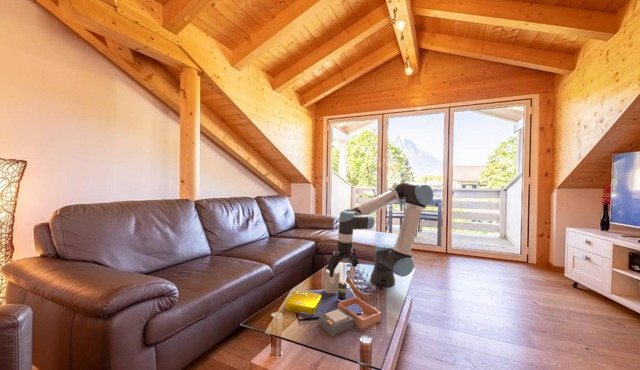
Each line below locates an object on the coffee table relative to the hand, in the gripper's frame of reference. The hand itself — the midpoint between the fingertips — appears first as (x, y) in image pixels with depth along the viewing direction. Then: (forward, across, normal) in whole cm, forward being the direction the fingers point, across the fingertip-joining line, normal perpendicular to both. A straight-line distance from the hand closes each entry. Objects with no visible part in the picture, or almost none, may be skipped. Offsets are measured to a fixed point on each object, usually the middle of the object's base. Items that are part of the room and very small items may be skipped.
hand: (342, 280), depth 148 cm
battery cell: (+11, -1, 0) cm, 11 cm away
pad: (+10, +16, +16) cm, 25 cm away
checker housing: (+12, +16, +16) cm, 26 cm away
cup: (+12, -3, -11) cm, 16 cm away
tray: (+11, +2, +16) cm, 20 cm away
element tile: (+12, +19, -6) cm, 24 cm away
